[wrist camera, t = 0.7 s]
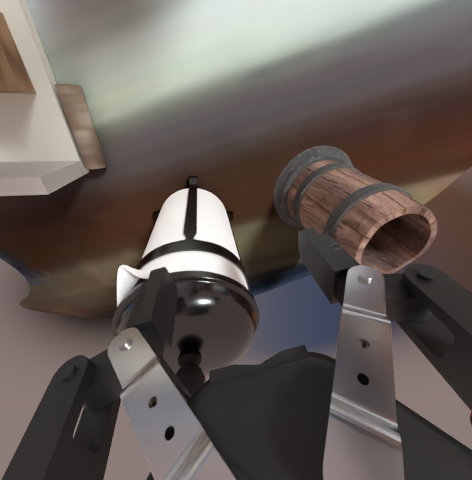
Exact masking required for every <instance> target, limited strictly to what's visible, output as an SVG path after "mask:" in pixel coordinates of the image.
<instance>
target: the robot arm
mask: <svg viewBox="0 0 472 480" xmlns="http://www.w3.org/2000/svg"><path fill="white" fill-rule="evenodd" d="M298 240H299V254H300V257H301V260H302V261H303V263H304V264H305V266H306V267H307V269H308V270H309V272H310V273H311V275H312V276H313V278H314V279H315V280H316V282H317V283H318V285H319V286H320V288H321V289H322V290H323V292H324V294H325V295H326V296H327V298H328V300H329V301H330V302H331V304H334V303H337V302H339V303H340V304H341V306H342V313H341V320H340V327H339V336H338V342H337V350H336V357H335V359H333V358H332V357H329V356H327V355H324V354H320V353H315V352H307V350H306V347H305V345H302V346H298V347H295V348H291V349H287V350H284V351H281V352H279V353H277V354H276V355H274V356H272V357H271V358H269V359H268V360H266V361H264V362H263V363H262V364H259V365H229V366H226V367H222V368H219V369H215V370H211V371H209V377H210V379H209V380H208V381H206V382H205V383H204V384H202V385H201V386H200V387H199V388H198V389H197V390H196V391H195V393H194V394H193V395H192V396H191V394H190V393H189V392H188V391H187V389H186V388H185V387H184V386H183V384H182V383H181V381H180V380H179V379H178V377H177V376H176V374H175V373H174V372H173V370H172V369H171V367H170V366H169V365H168V363H167V362H166V360H165V359H164V358H163V351H164V349H168V348H172V340H173V331H174V322H175V313H176V305H177V296H178V291H177V287H176V284H175V282H174V281H173V279H172V277H171V275H170V274H169V272H168V270H167V269H166V268H165V267H162V268H158V269H154V270H151V272H150V275H149V278H148V280H147V281H144V282H143V284H142V285H141V286H140V288H139V289H138V292H137V295H136V298H135V301H134V305H133V307H132V310H131V313H130V316H129V319H128V322H127V325H126V328H125V330H123V331H122V332H120V333H119V334H118V335H117V336H116V337H115V338H114V339H113V340H112V342H111V343H110V345H109V347H108V349H107V350H105V351H103V352H102V353H100V354H98V355H97V356H95V357H93V358H91V359H88V358H87V357H85V356H83V355H80V356H76V357H73V358H72V359H70V360H68V361H67V362H66V363H64V364H63V365H62V366H61V367H60V368H59V369H58V370H57V372H56V373H55V374H54V376H53V378H52V380H51V382H50V384H49V386H48V388H47V390H46V392H45V394H44V396H43V398H42V400H41V402H40V404H39V406H38V408H37V410H36V412H35V414H34V416H33V418H32V420H31V422H30V424H29V426H28V428H27V430H26V432H25V434H24V436H23V438H22V440H21V442H20V444H19V446H18V448H17V450H16V452H15V454H14V456H13V458H12V460H11V462H10V464H9V466H8V468H7V470H6V472H5V474H4V476H3V478H2V480H103V479H104V474H105V469H106V465H107V460H108V456H109V451H110V447H111V442H112V437H113V433H114V429H115V424H116V419H117V415H118V411H119V406H120V402H121V401H122V403H123V406H124V408H125V410H126V413H127V415H128V418H129V420H130V423H131V425H132V427H133V430H134V432H135V435H136V437H137V439H138V442H139V444H140V447H141V449H142V451H143V454H144V456H145V458H146V461H147V463H148V466H149V468H150V471H151V472H150V474H149V476H148V478H147V479H146V480H472V450H471V449H469V448H468V447H466V446H465V445H463V444H462V443H460V442H459V441H457V440H456V439H454V438H453V437H451V436H450V435H448V434H447V433H445V432H444V431H442V430H441V429H439V428H438V427H436V426H435V425H433V424H432V423H430V422H429V421H427V420H426V419H425V418H423V417H422V416H420V415H419V414H417V413H415V412H414V411H413V410H411V409H410V408H408V407H406V406H405V405H404V404H402V403H401V402H399V401H397V400H396V399H395V384H394V369H393V368H394V367H393V351H392V336H391V322H390V321H396V322H397V323H398V325H399V326H400V327H401V328H402V329H403V330H404V332H405V333H406V334H407V335H408V336H409V338H410V339H411V340H412V341H413V342H414V344H415V345H416V346H417V347H418V348H419V349H420V351H421V352H422V353H423V354H424V355H425V357H426V358H427V359H428V360H429V361H430V362H431V364H432V365H433V366H434V367H435V368H436V370H437V371H438V372H439V373H440V374H441V375H442V377H443V378H444V379H445V380H446V381H447V383H448V384H449V385H450V386H451V387H452V388H453V389H454V391H455V392H456V393H457V394H458V395H459V397H460V398H461V399H462V400H463V401H464V403H465V404H466V405H467V406H468V407H469V409H470V410H471V413H470V423H471V425H472V293H471V292H470V291H469V290H467V289H466V288H465V287H463V286H462V285H460V284H459V283H458V282H456V281H455V280H454V279H452V278H451V277H449V276H448V275H447V274H445V273H444V272H442V271H441V270H439V269H437V268H434V267H432V266H428V265H422V264H414V265H410V266H408V267H407V268H406V269H405V271H404V273H403V274H381V273H380V272H379V271H378V270H376V269H374V268H372V267H369V266H363V265H360V264H359V263H358V262H357V261H356V260H355V259H354V258H353V257H352V256H351V255H350V254H349V253H348V252H347V251H346V250H345V249H344V248H342V246H341V245H340V244H338V243H337V242H336V241H335V240H334V239H333V238H332V237H331V236H329V235H326V234H324V233H322V234H319V233H318V232H317V231H316V230H315V229H314V228H312V227H311V228H307V229H303V230H300V231H299V232H298ZM82 407H83V408H84V410H83V412H82V415H81V419H80V421H79V424H78V427H77V430H76V433H75V436H74V439H73V432H74V429H75V426H76V423H77V421H78V418H79V415H80V412H81V409H82Z"/></svg>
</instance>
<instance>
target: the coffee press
mask: <svg viewBox="0 0 472 480" xmlns="http://www.w3.org/2000/svg"><path fill="white" fill-rule="evenodd" d="M153 215H154V220H155V221H156V223H155V226H154V229H153V231H152V234H151V236H150V239H149V241H148V244H147V247H146V249H145V252H144V254H143V257H142V259H141V261H140V262H139V263H138V265H137V266H136V268H135V269H134V268H131V267H129V266H127V265H121V266H120V267H119V269H118V274H117V309H116V312H115V314H114V317H113V321H112V331H113V335H114V338H115V337H116V336H117V335H118V334H119V333H120V332H122V331H123V330H125V328H126V325H127V322H128V319H129V316H130V313H131V310H132V307H133V305H134V301H135V298H136V295H137V292H138V289H139V288H140V286H141V285H142V284H143V282H144V281H147V280H148V278H149V275H150V272H151V270H154V269H158V268H162V267H165V268H166V269H167V270H168V272H169V274H170V275H171V277H172V279H173V281H174V282H175V284H176V287H177V291H178V296H177V305H176V313H175V322H174V331H173V340H172V348H168V349H164V351H163V358H164V359H165V360H166V362H167V363H168V365H169V366H170V367H171V369H172V370H173V372H174V373H175V374H176V376H177V377H178V379H179V380H180V381H181V383H182V384H183V386H184V387H185V388H186V389H187V391H188V392H189V393H190V394H191V396H192V395H193V394H194V393H195V391H196V390H197V389H198V388H199V387H200V386H201V385H202V384H204V382H205V377H208V376H209V371H211V370H215V369H219V368H222V367H226V366H229V365H233V364H235V363H236V362H237V361H238V360H239V359H240V358H242V356H243V355H244V354H245V353H246V352H247V350H248V349H249V347H250V345H251V344H252V341H253V339H254V335H255V332H256V330H257V327H258V323H259V310H258V307H257V304H256V301H255V299H254V297H253V295H252V294H251V291H250V288H249V282H248V279H247V276H246V272H245V269H244V267H243V265H242V262H241V259H240V255H239V252H238V248H237V245H236V241H235V238H234V234H233V231H232V227H231V224H230V221H232V220H233V212H232V211H226V210H225V208H224V206H223V204H222V202H221V201H220V200H219V199H218V198H217V197H216V196H215V195H213V194H212V193H210V192H208V191H206V190H203V189H198V188H197V176H189V188H187V189H183V190H180V191H177V192H175V193H174V194H172V195H171V196H170V197H169V198H168V199H167V200H166V201H165V203H164V204H163V206H162V208H161V211H155V212H153Z"/></svg>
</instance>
